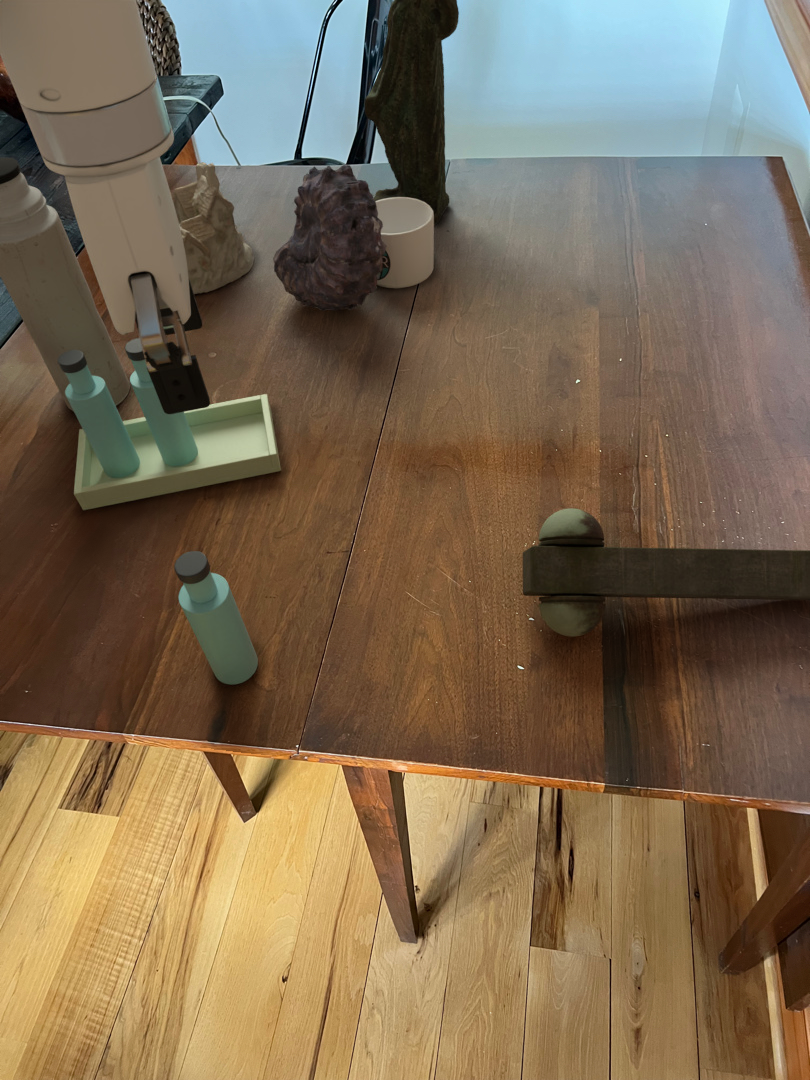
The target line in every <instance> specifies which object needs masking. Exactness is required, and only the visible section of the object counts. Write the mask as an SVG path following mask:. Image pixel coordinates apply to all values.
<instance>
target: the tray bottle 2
mask: <svg viewBox="0 0 810 1080" xmlns="http://www.w3.org/2000/svg"><path fill="white" fill-rule="evenodd" d="M124 350H125V353H126V355H127V357H128V359H129V360H130V361H131V364H132V367H133V368H134V371H133V372H132V373H131V374H130V377H129V384H130V386H131V388H132V390H133V393H134V395H135V397H136V399H137V402H138V404H139V407H140V409H141V412H142V414H143V417H145V418H146V421H147V423H148V426H149V428H150V430H151V433H152V435H153V437H154V440H155V442H156V445H157V447H158V449H159V452H160V454H161V457H162V459H163V461H164V462H165V463H166V464H167V465H169V466H175V467H177V466H183V465H186V464H188V463H190V462H191V461H193V460H194V459H195V458H196V456H197V454H198V448H197V446H196V443H195V440H194V438H193V435H192V432H191V429H190V427H189V424H188V421H187V419H186V416H185V413H184V412H180V413H175V414H166V413H165V412H164V411H163V408H162V406H161V403H160V401H159V398H158V396H157V393H156V391H155V388H154V385H153V383H152V380H151V378H150V375H149V373H148V370H147V365H146V361H145V357H144V353H143V349H142V345H141V341H140V337H137V338H133V339H131V340H130V341H128V342H127V343H125V346H124Z"/></svg>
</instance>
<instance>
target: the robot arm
mask: <svg viewBox="0 0 810 1080" xmlns="http://www.w3.org/2000/svg"><path fill="white" fill-rule="evenodd" d="M0 58H1V61H2V63H3V65H4V68H5V70H6V73H7V75H8V78H9V80H10V82H11V85H12V87H13V89H14V92H15V94H16V97H17V99H18V102H19V104H20V107H21V110H22V112H23V114H24V116H25V120H26V121H27V124H28V126H29V128H30V131H31V133H32V136H33V139H34V141H35V143H36V146H37V148H38V150H39V153H40V156H41V158H42V160H43V163H44V165H45V166H46V167H47V169H49V170H50V171H51V172H53V173H56V174H58V175H61V176H64V179H65V183H66V188H67V192H68V196H69V199H70V202H71V207H72V210H73V213H74V216H75V220H76V222H77V226H78V228H79V232H80V235H81V238H82V241H83V244H84V247H85V249H86V252H87V255H88V259H89V261H90V264H91V266H92V269H93V272H94V275H95V278H96V281H97V283H98V286H99V289H100V292H101V294H102V297H103V300H104V303H105V306H106V309H107V312H108V315H109V317H110V320H111V323H112V325H113V328H114V330H115V331H117V333H118V334H120V335H122V336H127V335H128V334H129V333H135V326H136V329H137V332H138V338H140V341H141V345H142V349H143V353H144V357H145V361H146V365H147V370H148V373H149V375H150V378H151V380H152V383H153V385H154V388H155V391H156V393H157V396H158V398H159V401H160V403H161V406H162V408H163V411H164V412H165V413H166V414H175V413H180V412H185V411H190V410H195V409H201V408H206V407H208V406H209V405H210V404H211V400H210V395H209V392H208V389H207V386H206V382H205V380H204V377H203V374H202V371H201V367H200V364H199V361H198V358H197V355H196V354H191V351H190V346H189V342H188V339H187V334H186V332H190V331H197V330H200V329H201V328H202V327H203V318H202V315H201V313H200V310H199V306H198V303H197V300H196V296H195V294H194V293H193V290H192V286H191V283H190V280H189V279H188V268H187V260H186V254H185V248H184V244H183V239H182V234H181V230H180V226H179V222H178V218H177V214H176V210H175V207H174V199H173V196H172V193H171V189H170V187H169V183H168V179H167V176H166V172H165V170H164V166H163V164H162V159H161V157H162V156H163V155H164V154H165V153H166V152H168V151H169V149H170V148H171V147H172V145H173V144H174V141H175V134H174V131H173V128H172V124H171V121H170V120H171V119H170V117H169V114H168V109H167V106H166V102H165V98H164V96H163V92H162V89H161V85H160V81H159V78H158V75H157V72H156V67H155V63H154V60H153V56H152V53H151V49H150V46H149V42H148V39H147V36H146V32H145V28H144V25H143V21H142V17H141V14H140V10H139V7H138V3H137V0H0ZM135 324H136V325H135ZM168 335H174V336H175V340H176V343H174V341H170V342H169V340H168Z"/></svg>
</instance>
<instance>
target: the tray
mask: <svg viewBox="0 0 810 1080" xmlns="http://www.w3.org/2000/svg"><path fill="white" fill-rule="evenodd" d="M184 413H185V416H186V419H187V421H188V424H189V427H190V429H191V432H192V435H193V438H194V440H195V443H196V446H197V448H198V454H197V456H196V458H195V459H194V460H193V461H191V462H190V463H188V464H186V465H183V466H177V467H175V466H169V465H167V464H166V463H165V462H164V461H163V459H162V457H161V454H160V452H159V449H158V447H157V445H156V442H155V440H154V437H153V435H152V433H151V430H150V428H149V426H148V423H147V421H146V418H145V416H143V417H142V416H141V417H137V418H132V419H127V420H122V421H123V423H124V426H125V428H126V430H127V432H128V434H129V437H130V439H131V441H132V443H133V445H134V448H135V450H136V452H137V454H138V457H139V459H140V465H139V467H138V468H137V470H136V471H135V472H133V473H132V474H130V475H128V476H126V477H122V478H112V477H109V476H108V475H106V473H105V472H104V470H103V468H102V466H101V464H100V462H99V460H98V458H97V456H96V454H95V452H94V450H93V448H92V446H91V444H90V442H89V440H88V438H87V436H86V434H85V432H84V430H83V428H80V429H78V440H77V441H78V442H77V452H76V466H75V476H74V488H73V495H74V497H75V499H76V501H77V502H78V504H79V506H80V507H81V509H82V511H86V510H92V509H97V508H103V507H107V506H112V505H117V504H122V503H126V502H132V501H137V500H142V499H147V498H152V497H157V496H162V495H168V494H172V493H176V492H181V491H187V490H192V489H197V488H201V487H207V486H211V485H212V486H213V485H218V484H223V483H227V482H232V481H237V480H242V479H243V480H244V479H246V478H252V477H257V476H262V475H267V474H272V473H277V472H281V471H282V467H281V462H280V456H279V449H278V444H277V437H276V432H275V426H274V419H273V413H272V408H271V404H270V400H269V396H268V394H267V393H264V394H258V395H253V396H248V397H243V398H242V397H241V398H238V399H237V398H236V399H232V400H226V401H221V402H217V403H216V402H215V403H210V405H209V406H208V407H206V408H201V409H195V410H190V411H185V412H184Z"/></svg>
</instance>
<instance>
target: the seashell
mask: <svg viewBox="0 0 810 1080" xmlns="http://www.w3.org/2000/svg"><path fill="white" fill-rule="evenodd" d="M308 170H309V171H308V173H306V174H305V175H304V176H303V178H302V184H301V185H300V186H298V187H297V195H296V196H295V197H294V199H293V203H294V205H295V208H294V211H293V213H294V214H295V223H294V227H293V230H292V234H291V237H290V238H289V239H288V240H287V242H286V243H284V244H282V246H281V247H280V248H278V249H277V250H276V251H275V254H274V256H273V257H272V258H273V264H274V265H273V272H274V273H275V274H276V276H277V278H278V279H279V281H280V282H281V283H282V284H283V288H284V290H285V292H286V293H288V294H290V295H291V296H293V297H294V299H295V301H296V302H300V303H301V305H302V306H303V307H305V306H306V307H308V308H317V309H318V310H320V311H321V312H324V311H326V310H328V311H340V310H345V309H347V310H348V311H352V310H355V309H356V308H357V307H358V306H363V304H364V302H365V301H366V300H367V297H368V296H369V295H371V294H373V293H374V292H375V291H376V290H377V289H378V287H377V285H376V284H377V277H378V274H379V273H380V272H381V271H382V263H383V260H382V256H383V255H384V254H385V250H386V247H387V245H386V244H385V243H384V242H383V241H382V239H381V229H382V227H383V223H382V221H381V220H380V219H379V218H378V217H377V216H378V210H377V206H376V202H375V201H374V200H373V198H374V195H373V194H372V193H371V190H370V188H369V183H368V182H367V181H366V180H362V179H359V180H358V179H357V178H356V175H354V172H353V168H352V166H351V164H350V165H349V164H343V165H341V166H340V167H339V168H338V169H333V168H332V167H331V165H326V167H325V168H321V169H319V168H316V166H315V165H314V166H313V167H311V168H310V169H308Z"/></svg>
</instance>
